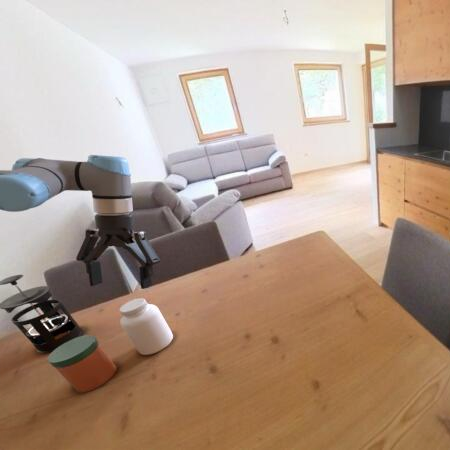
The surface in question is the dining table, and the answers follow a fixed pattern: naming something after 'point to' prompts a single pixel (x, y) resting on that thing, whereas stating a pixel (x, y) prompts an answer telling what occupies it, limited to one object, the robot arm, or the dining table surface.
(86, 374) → the jar
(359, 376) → the dining table surface
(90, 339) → the jar lid
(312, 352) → the dining table surface
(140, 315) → the pill bottle
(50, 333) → the french press
